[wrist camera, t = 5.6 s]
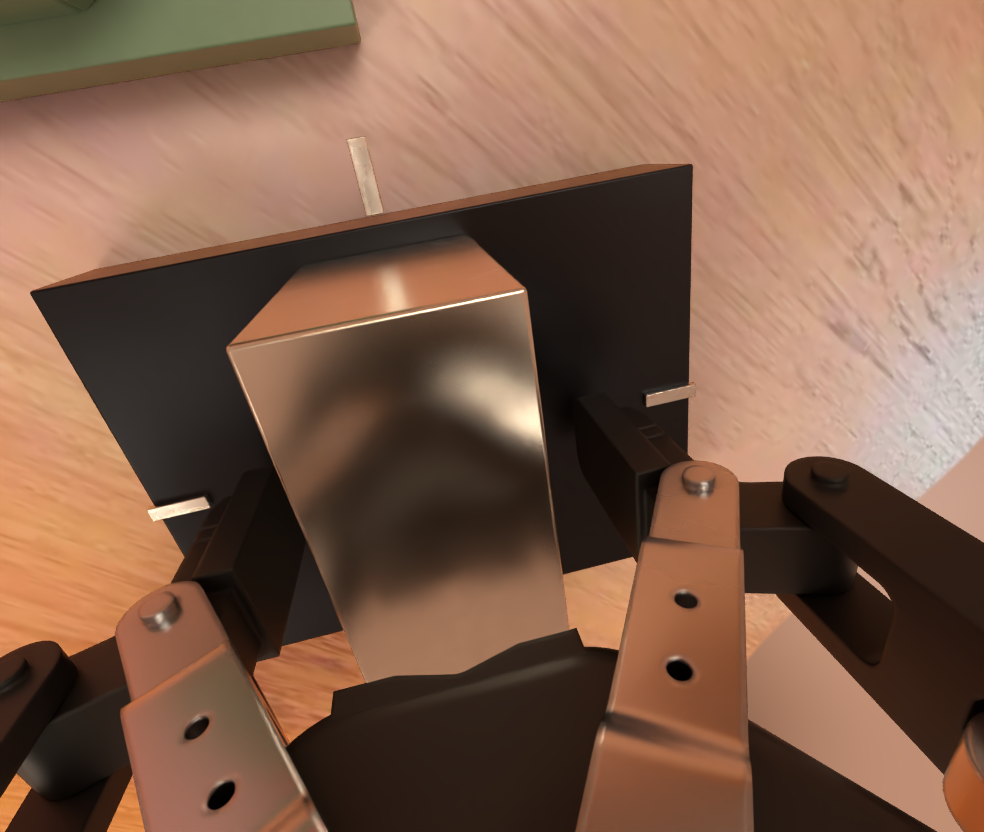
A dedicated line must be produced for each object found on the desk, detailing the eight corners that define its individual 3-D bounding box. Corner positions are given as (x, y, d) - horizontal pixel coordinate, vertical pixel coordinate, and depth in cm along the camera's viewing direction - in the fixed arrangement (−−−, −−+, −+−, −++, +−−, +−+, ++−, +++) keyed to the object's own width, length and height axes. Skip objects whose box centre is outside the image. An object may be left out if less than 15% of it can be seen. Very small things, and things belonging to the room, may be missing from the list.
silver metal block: (300, 265, 11) (215, 354, 6) (468, 233, 11) (532, 291, 6) (409, 602, 15) (417, 820, 10) (526, 573, 16) (589, 771, 10)
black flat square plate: (646, 92, 13) (704, 75, 10) (654, 531, 19) (691, 583, 17) (52, 198, 12) (-35, 207, 9) (275, 627, 18) (257, 696, 16)
